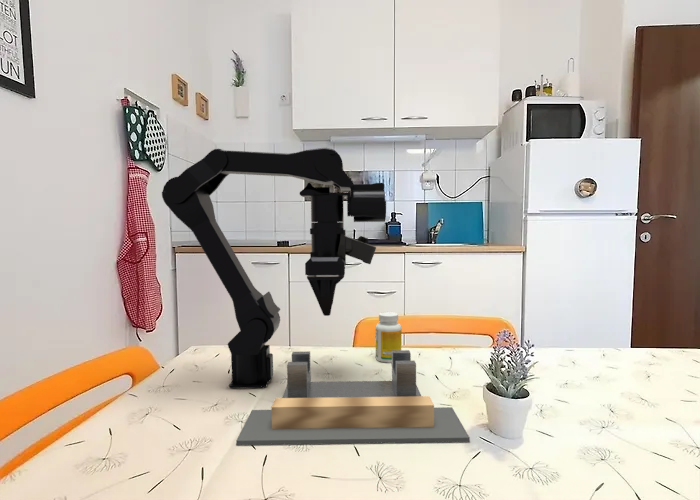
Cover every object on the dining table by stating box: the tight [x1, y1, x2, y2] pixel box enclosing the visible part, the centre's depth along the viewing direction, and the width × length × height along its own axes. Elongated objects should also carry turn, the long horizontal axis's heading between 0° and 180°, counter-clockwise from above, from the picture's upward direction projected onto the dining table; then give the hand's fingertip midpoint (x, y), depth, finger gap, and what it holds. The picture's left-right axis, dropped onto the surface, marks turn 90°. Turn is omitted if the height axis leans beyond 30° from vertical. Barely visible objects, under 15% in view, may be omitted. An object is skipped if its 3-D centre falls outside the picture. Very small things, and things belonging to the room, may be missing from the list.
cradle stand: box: [281, 349, 422, 398], centre depth 69 cm, size 22×8×6 cm, turn 91°
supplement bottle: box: [375, 311, 402, 364], centre depth 88 cm, size 5×5×10 cm
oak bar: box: [271, 395, 435, 429], centre depth 58 cm, size 22×3×3 cm, turn 91°
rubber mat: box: [235, 406, 471, 446], centre depth 58 cm, size 30×9×1 cm, turn 91°
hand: (328, 309), depth 75 cm, fingers open, 9 cm apart
